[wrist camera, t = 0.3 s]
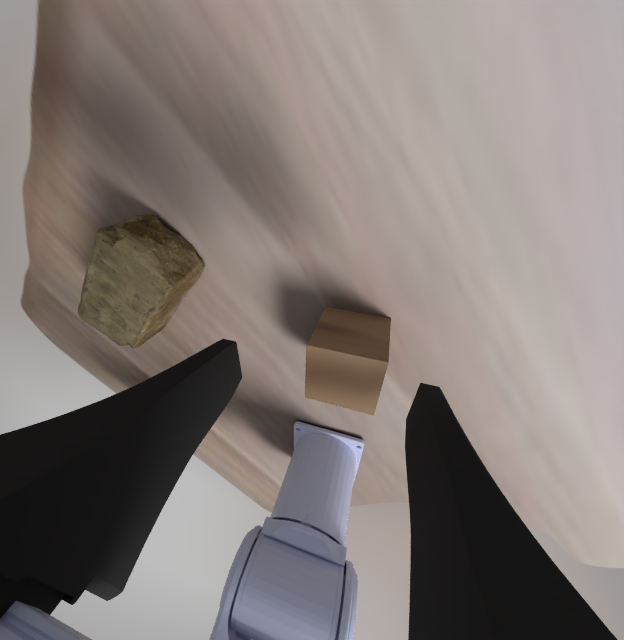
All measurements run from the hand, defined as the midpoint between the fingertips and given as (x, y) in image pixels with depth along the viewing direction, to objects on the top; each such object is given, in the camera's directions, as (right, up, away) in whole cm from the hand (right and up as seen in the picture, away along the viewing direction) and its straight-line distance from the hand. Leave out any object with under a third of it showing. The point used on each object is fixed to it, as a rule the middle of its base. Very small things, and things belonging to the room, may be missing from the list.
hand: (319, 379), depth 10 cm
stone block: (-14, +6, +13) cm, 20 cm away
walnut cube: (+3, +1, +11) cm, 11 cm away
